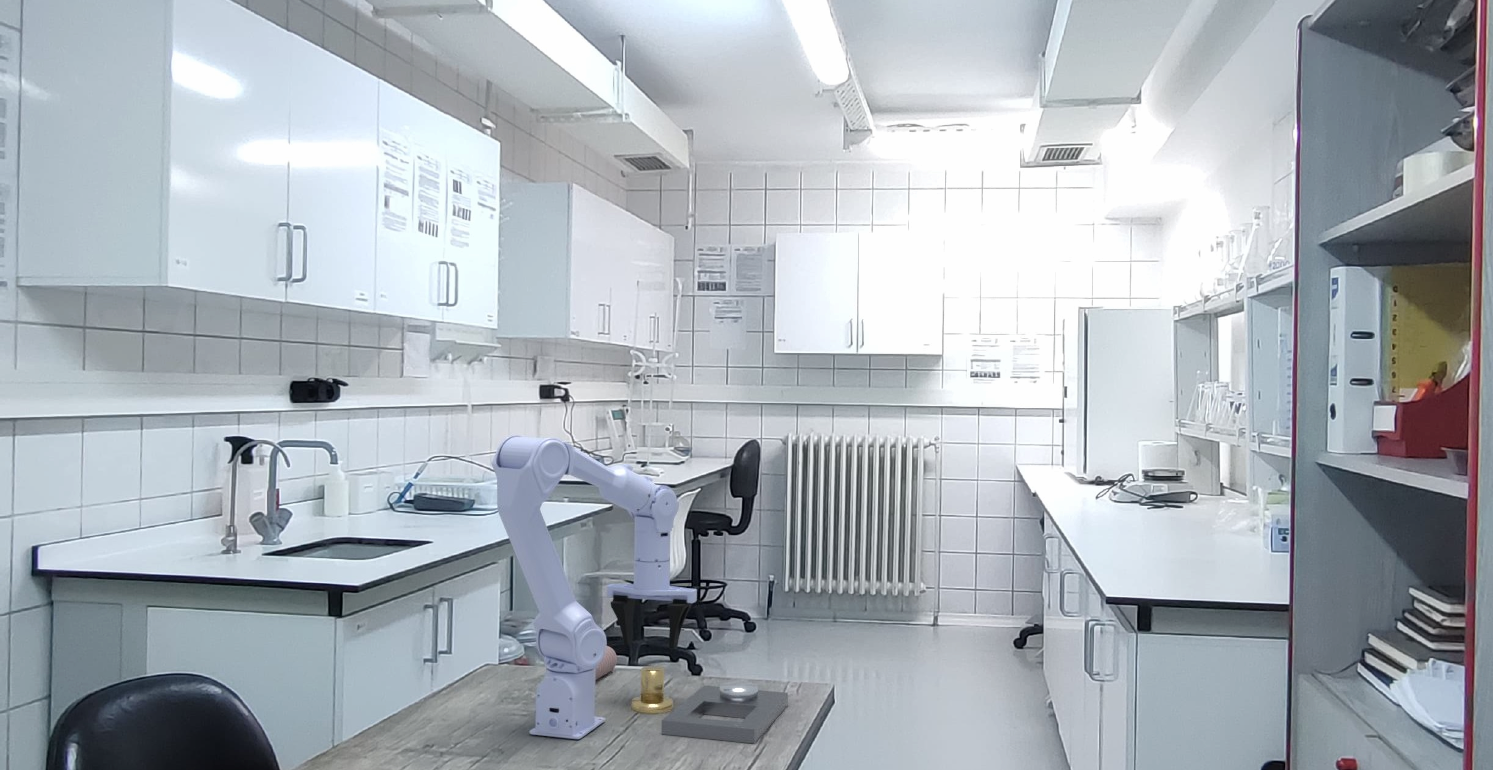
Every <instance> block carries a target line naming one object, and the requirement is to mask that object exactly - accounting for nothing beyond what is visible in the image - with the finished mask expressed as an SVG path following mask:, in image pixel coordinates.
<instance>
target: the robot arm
mask: <svg viewBox="0 0 1493 770" xmlns="http://www.w3.org/2000/svg"><path fill="white" fill-rule="evenodd" d="M491 467H492V469H493V471H494V474H495V477H496V488H497V489H496V493H497V495H496V498H497V501H496V504H497V511H498V515H499V517H500V519H501V522H502V524H503V526H504V529H505V532H506V534H507V537H508V539H509V542H510V543H511V546H512V548H513V551H514V554H515V555H516V556H515V557H516V558H517V561H518V563H519V566H520V568H521V571H522V574H523V576H524V578H525V580H526V583H527V585H528V587H529V590H530V593H531V596H532V597H533V600H534V603H535V605H536V607H537V609H538V612H539V613H538V614H537V615H536V616H535V618H534V620H533V621H532V625H533V627H534V629H535V635H536V636H535V646H536V649H537V652H538V653H539V655H540V656H542V658H543V665H544V666H546V668H545V669H546V670H545V675H544V678H543V680H541V682H539V685H538V686H537V687H536V691H535V727H533V728H532V729H530V730H529V734H530V735H534V736H536V735H537V736H543V737H544V736H546V737H553V738H562V739H572V740H573V739H574V740H581V739H582V738H583V737H585V736H586V735H588V733H590V732H591V731H593V730H594V729H596V728H597V727H599V726H600V725H601V724H603V723H605V721H606V718H605V717H601V716H600V717H599V716H596V680H595V668H598V664H599V663H600V662H601V660H602V659H603V657H604V655H605V652H606V647H607V646H608V645H607V644H608V643H607V642H608V641H607V635H606V633H605V631H604V630H603V628H601V627H600V626H599V625H597V623H596V622H595V620H594V617H593V615H592V614H591V613H590V612H589V611H588V610H587V609H585V607H583V606H582V605H581V604H580V603H579V602H578V601H577V600H576V597H575V595H574V592H573V590H572V587H571V584H570V582H569V580H568V576H567V574H566V572H565V570H564V567H563V564H562V561H561V559H560V556H559V554H558V552H557V549H556V547H555V544H554V542H553V539H552V536H551V534H550V531H549V529H548V527H547V524H546V522H545V519H544V516H543V514H542V511H541V508H542V505H543V504H544V503H545V502H546V501H547V499H548V498H549V497H550V495H551V494H552V492H553V491H554V489H555V488H556V487H557V485H558V484H559V483H560V482H561V480H562V478H563V477H564V476H565V475H566V476H571V477H574V478H576V479H579V480H581V481H583V482H586V483H588V484H589V485H592V486H595V487H597V488H598V491H599V494H600V496H601V498H602V499H603V500H606V501H608V502H610V503H612V504H614V505H616V506H618V507H620V508H622V509H624V510H626V511H627V513H628V514H629V515H630V517H631V518H633V519H634V547H633V548H634V549H633V551H634V552H633V553H634V556H633V583H610V584H608V585H606V598H608V599H612V601H610V607H611V609H612V612H613V613H614V615H615V617H616V619H617V622H618V625H619V628H620V632H621V635H622V641H623V645H624V646H625V645H627V646H629V645H631V644H632V643H633V640H634V615H635V614H634V613H635V612H634V611H635V604H636V600H638V599H639V600H649V601H651V600H653V601H654V600H655V601H668V602H671V603H669V604H667V612H668V622H669V636H668V638H669V639H668V647H669V649H675V648H677V647H678V645H679V641H680V640H679V639H680V635H681V631H682V628H683V624H684V623H685V620H686V617H687V615H688V613H689V611H690V609H691V608H692V605H693V603H696V602H697V600H698V599H697V598H698V597H697V596H698V593H697V592H698V589H697V588H687V587H681V586H673V585H670V584H671V583H670V581H671V579H670V577H671V576H670V575H671V574H670V573H671V532H672V531H673V528H674V522H675V517H676V515H677V514H678V511H679V507H680V501H678V497H677V496H676V495H677V494H676V493H675V492H674V490H673V489H672V488H671V487H670V486H668V485H663V484H655V483H654V482H653V478H652V477H651V476H647V475H645V476H643V475H640V474H639V473H636V472H635V471H633V468H634V467H633V466H631V465H629V464H627V463H626V464H625V463H624V464H623V463H622V464H616V465H612V466H610V467H608V466H606V465H605V464H603V463H601V462H599V460H596V459H595V458H594V457H591V456H590V455H588V454H587V453H585V452H583V451H581V450H580V449H578V448H576V447H574V445H573V444H572V443H569V442H566V441H562V440H561V439H559V438H557V437H545V438H544V437H529V436H521V435H510V436H507V437H506V438H504V439H502V441H501V442H500V444H498V447H497V450H496V452H495V454H494V457H493V459H492V461H491Z"/></svg>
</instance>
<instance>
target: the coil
mask: <svg viewBox="0 0 1493 770" xmlns="http://www.w3.org/2000/svg"><path fill="white" fill-rule="evenodd" d="M617 662H618V656H617V654H616V651H615V650H614V649H613V648H612V647H610V646H608V645H607V647H606V652H605V655H604V657H603V659H602V660H601V662H600V663H599V664H598V668H595V681H597V680H599V679H600V678H602V677H603V676H605V675H607V674H608V673H610V672H612V671H613V670H614V669H615V667H616V665H617Z"/></svg>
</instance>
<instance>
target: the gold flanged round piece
mask: <svg viewBox="0 0 1493 770" xmlns="http://www.w3.org/2000/svg"><path fill="white" fill-rule="evenodd" d="M630 705H631V711H632V712H634V713H639V714H644V715H660V714H659V713H661V714H665V713H668V712H672V711H673V708H674V700H673V698H671V697H670V696H665V668H664V667H662V666H658V665H657V666H655V665H650V666H649V665H648V666H644V667H642V668H641V669H640V696H636V697H633V698H632V700H631V703H630Z"/></svg>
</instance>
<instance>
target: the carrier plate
mask: <svg viewBox="0 0 1493 770" xmlns="http://www.w3.org/2000/svg"><path fill="white" fill-rule="evenodd" d="M788 706H789V692H785V691H782V692H781V691H773V690H771V691H770V690H762V689H761V690H760V689H759V686H758V684H757V683H754V682H751V681H745V680H731V681H726V682H723V683H720V684H719V686H716V685H707V684H706V685H705V684H704V685H703V686H702V687H700V688H699V689H698V690H697V691H695V693H693V694H692V695H690V696H689V697H688V698H687V699H686V700H685V701H683V702H682V703H681V704H680V705H678V706H677V707H676V708H675V709H674V710H671V711H670V713H669V714H667V715H666V716H665V717H664V718H663V719H662V720H661V735H667V736H676V737H687V738H695V739H703V740H704V739H706V740H713V741H714V740H716V741H725V742H736V743H745V744H756V742H757V741H758V740H759V739H760V738H761V737H762V735H763V734H764V733H765V732H766V731H767V730H768V729H769V728H770V726H771V725H772V724H773V723H774V722H775V720H777V718H778V717H779V716H781V714H782V713H783V712H784V711H785V709H786V708H787V707H788ZM704 715H708V716H719V717H726V718H727V717H730V718H740V719H743V720H742V721H732V720H724V719H714V718H713V719H711V718H704V717H703V718H701V717H702V716H704Z"/></svg>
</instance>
